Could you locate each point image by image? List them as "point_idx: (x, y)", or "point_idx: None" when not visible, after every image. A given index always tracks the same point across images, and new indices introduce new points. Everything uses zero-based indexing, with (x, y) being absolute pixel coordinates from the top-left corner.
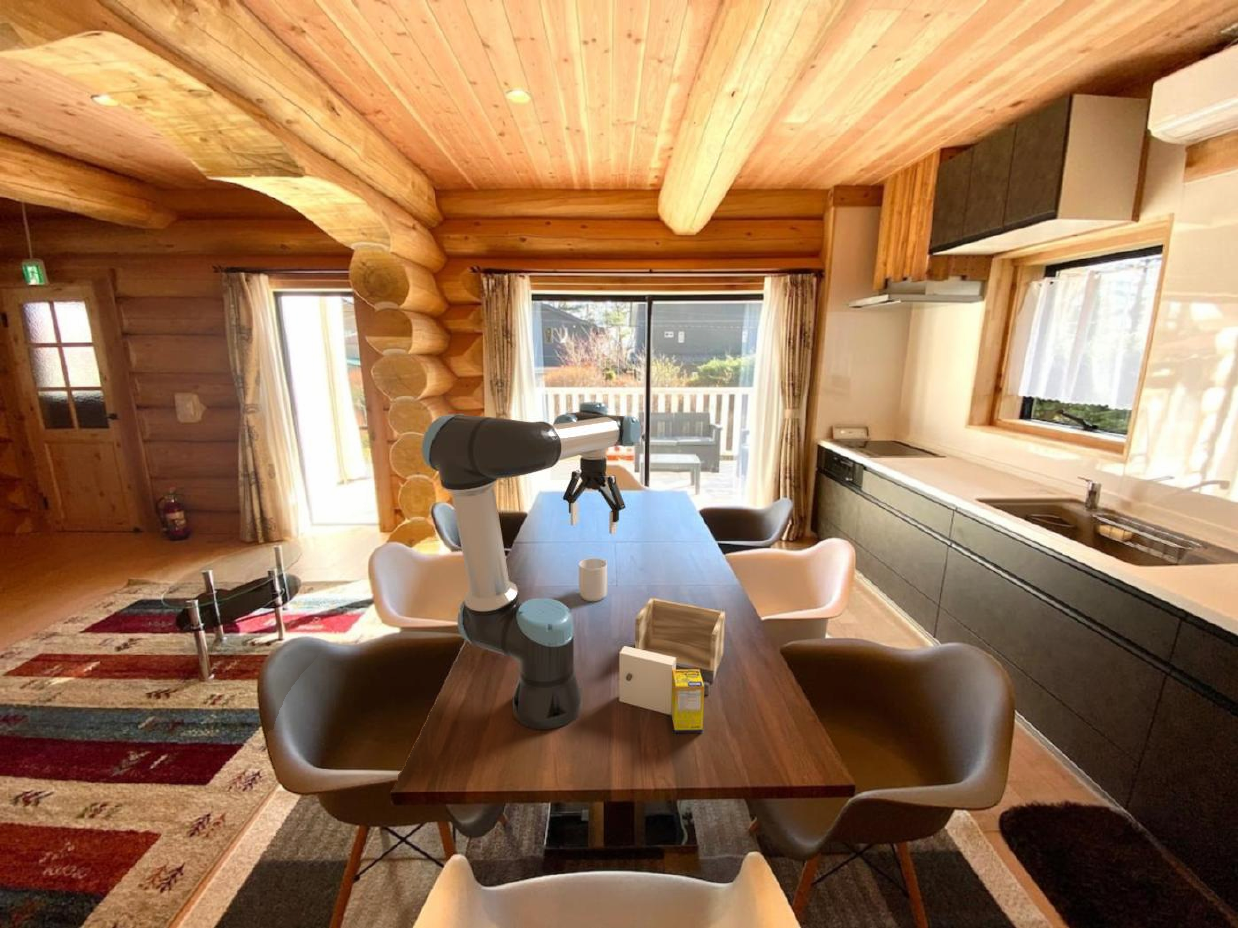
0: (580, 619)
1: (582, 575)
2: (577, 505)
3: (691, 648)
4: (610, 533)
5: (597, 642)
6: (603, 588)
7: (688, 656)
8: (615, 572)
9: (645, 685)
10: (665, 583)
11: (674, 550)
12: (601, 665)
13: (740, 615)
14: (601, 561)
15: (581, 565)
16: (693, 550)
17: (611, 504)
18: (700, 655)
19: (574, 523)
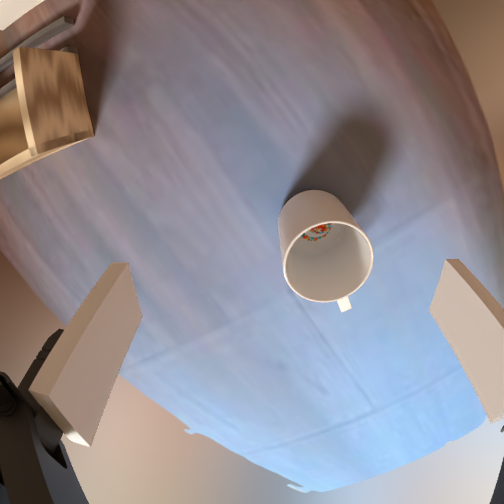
0: (270, 105)
1: (338, 211)
2: (485, 399)
3: (24, 150)
4: (120, 263)
5: (172, 50)
6: (279, 228)
7: (18, 127)
8: (323, 334)
9: None
10: (204, 341)
11: (265, 428)
12: (122, 3)
13: (47, 295)
14: (319, 296)
15: (367, 252)
16: (238, 436)
17: (6, 456)
18: (9, 143)
19: (444, 280)
